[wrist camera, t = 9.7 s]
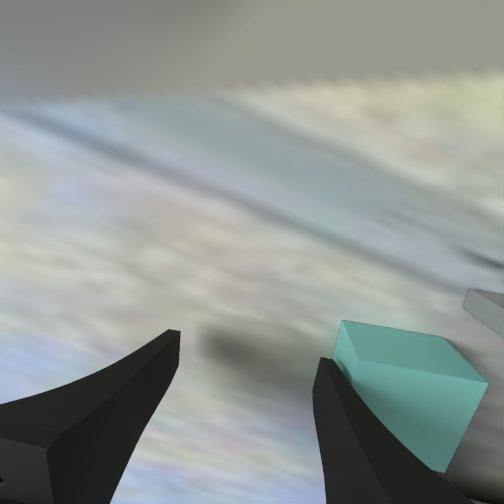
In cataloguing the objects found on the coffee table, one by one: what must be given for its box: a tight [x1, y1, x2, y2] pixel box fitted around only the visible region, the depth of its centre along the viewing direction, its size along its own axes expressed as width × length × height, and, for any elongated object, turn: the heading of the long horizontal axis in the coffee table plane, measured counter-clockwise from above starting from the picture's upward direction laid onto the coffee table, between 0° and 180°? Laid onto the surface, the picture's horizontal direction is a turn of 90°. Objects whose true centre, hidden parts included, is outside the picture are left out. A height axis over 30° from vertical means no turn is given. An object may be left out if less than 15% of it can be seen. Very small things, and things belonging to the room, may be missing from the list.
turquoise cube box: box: [332, 320, 489, 473], centre depth 12 cm, size 5×5×3 cm
